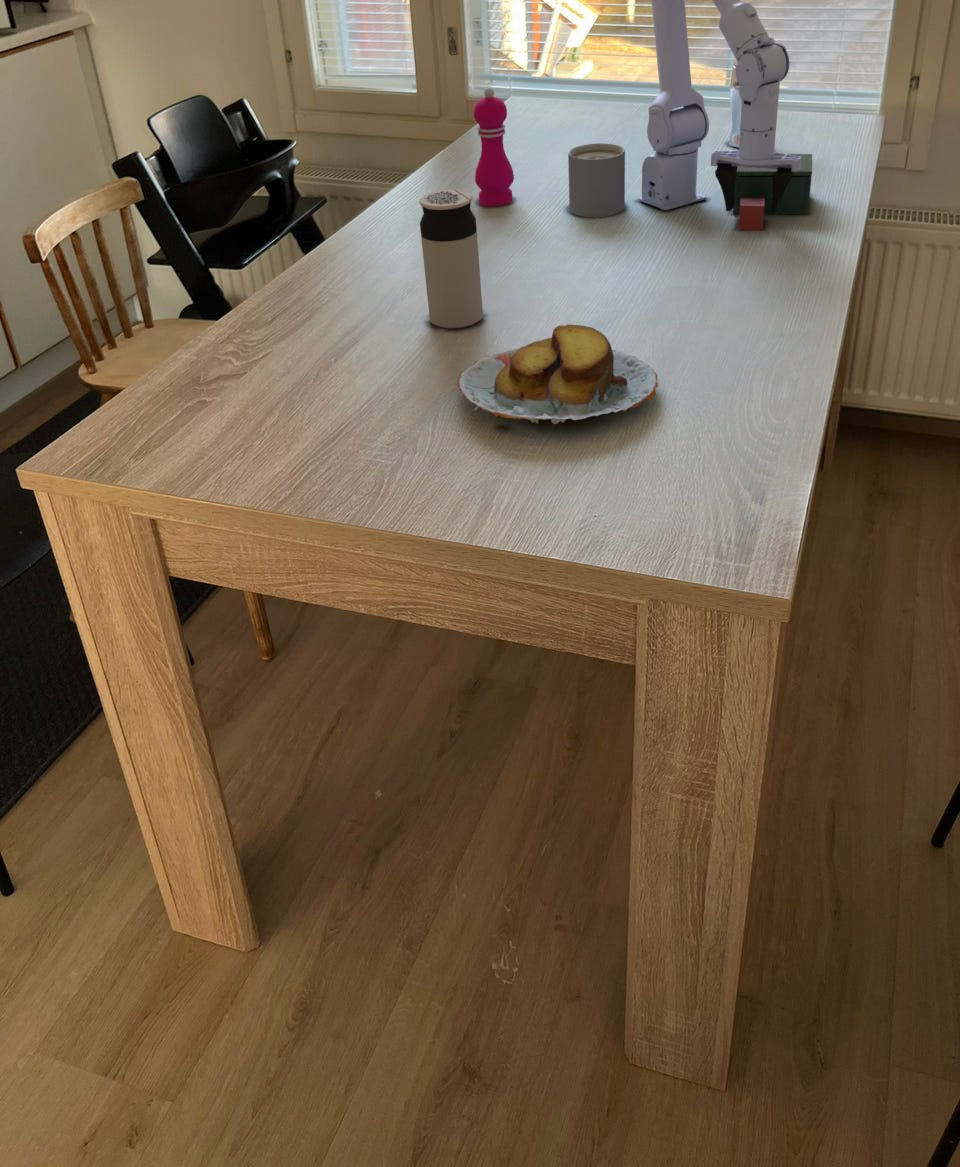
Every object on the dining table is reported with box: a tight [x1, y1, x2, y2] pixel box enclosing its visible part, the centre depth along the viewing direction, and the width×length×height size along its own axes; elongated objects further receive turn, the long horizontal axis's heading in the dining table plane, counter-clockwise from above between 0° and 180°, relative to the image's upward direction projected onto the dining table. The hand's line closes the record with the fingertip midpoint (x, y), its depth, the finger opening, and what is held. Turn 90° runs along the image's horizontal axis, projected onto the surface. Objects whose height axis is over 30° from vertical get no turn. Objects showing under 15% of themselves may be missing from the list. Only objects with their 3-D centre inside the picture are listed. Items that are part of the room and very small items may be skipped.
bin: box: [732, 175, 813, 216], centre depth 197 cm, size 11×13×6 cm
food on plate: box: [457, 324, 659, 428], centre depth 143 cm, size 25×25×7 cm
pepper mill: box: [473, 87, 515, 208], centre depth 205 cm, size 7×7×20 cm
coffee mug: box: [567, 142, 626, 218], centre depth 202 cm, size 13×10×10 cm
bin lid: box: [736, 153, 813, 176], centre depth 194 cm, size 11×13×1 cm
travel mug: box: [418, 189, 484, 330], centre depth 162 cm, size 8×8×18 cm
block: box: [737, 198, 765, 231], centre depth 190 cm, size 4×4×4 cm
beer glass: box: [728, 62, 742, 149], centre depth 225 cm, size 7×7×15 cm
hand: (751, 211), depth 189 cm, fingers open, 7 cm apart
